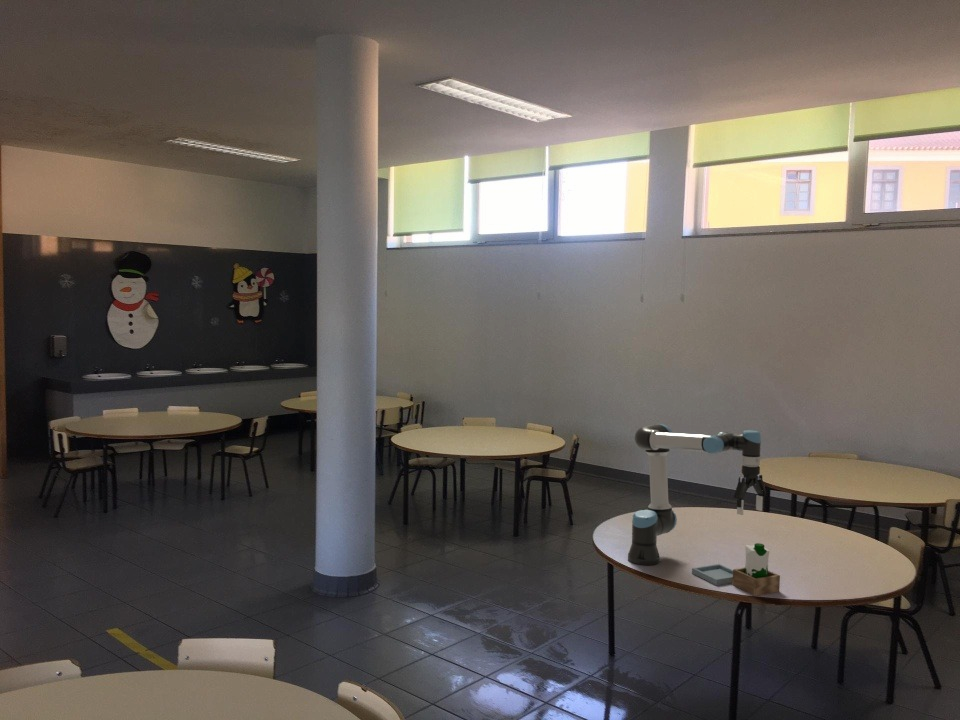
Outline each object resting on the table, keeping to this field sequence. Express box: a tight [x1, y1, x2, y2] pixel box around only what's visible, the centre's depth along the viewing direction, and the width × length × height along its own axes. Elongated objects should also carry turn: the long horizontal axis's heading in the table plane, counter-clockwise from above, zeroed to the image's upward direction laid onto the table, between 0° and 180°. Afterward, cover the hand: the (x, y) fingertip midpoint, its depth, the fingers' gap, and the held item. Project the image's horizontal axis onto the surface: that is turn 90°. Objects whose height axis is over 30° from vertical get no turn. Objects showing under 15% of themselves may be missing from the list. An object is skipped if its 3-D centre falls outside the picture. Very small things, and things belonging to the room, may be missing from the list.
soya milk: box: [744, 542, 770, 578], centre depth 313 cm, size 9×9×20 cm
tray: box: [691, 563, 733, 586], centre depth 327 cm, size 16×16×2 cm
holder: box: [732, 567, 781, 597], centre depth 314 cm, size 14×14×7 cm
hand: (749, 512), depth 322 cm, fingers open, 13 cm apart
